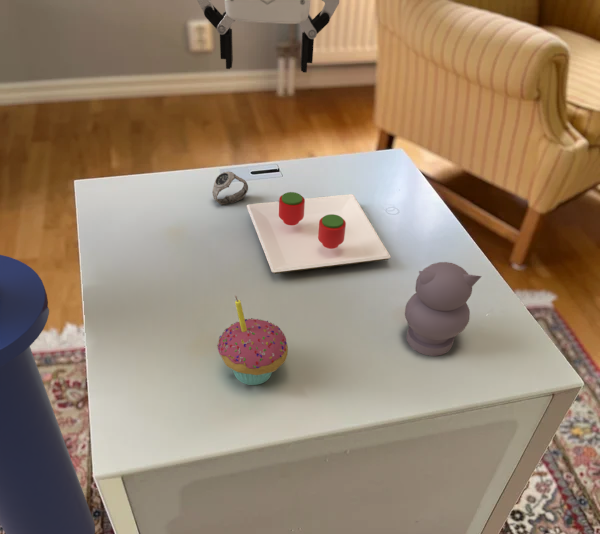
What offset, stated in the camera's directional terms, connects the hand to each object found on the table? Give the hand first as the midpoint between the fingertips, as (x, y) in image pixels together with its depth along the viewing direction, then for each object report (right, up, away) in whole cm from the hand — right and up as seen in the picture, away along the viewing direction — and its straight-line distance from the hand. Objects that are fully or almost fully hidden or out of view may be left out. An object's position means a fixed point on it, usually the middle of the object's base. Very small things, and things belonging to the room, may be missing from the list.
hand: (266, 66), depth 82 cm
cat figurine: (+22, -35, +5) cm, 42 cm away
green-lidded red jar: (+3, -15, +19) cm, 24 cm away
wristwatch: (-8, -9, +27) cm, 29 cm away
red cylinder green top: (+9, -19, +16) cm, 26 cm away
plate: (+7, -18, +20) cm, 27 cm away
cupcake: (-2, -40, 0) cm, 40 cm away
